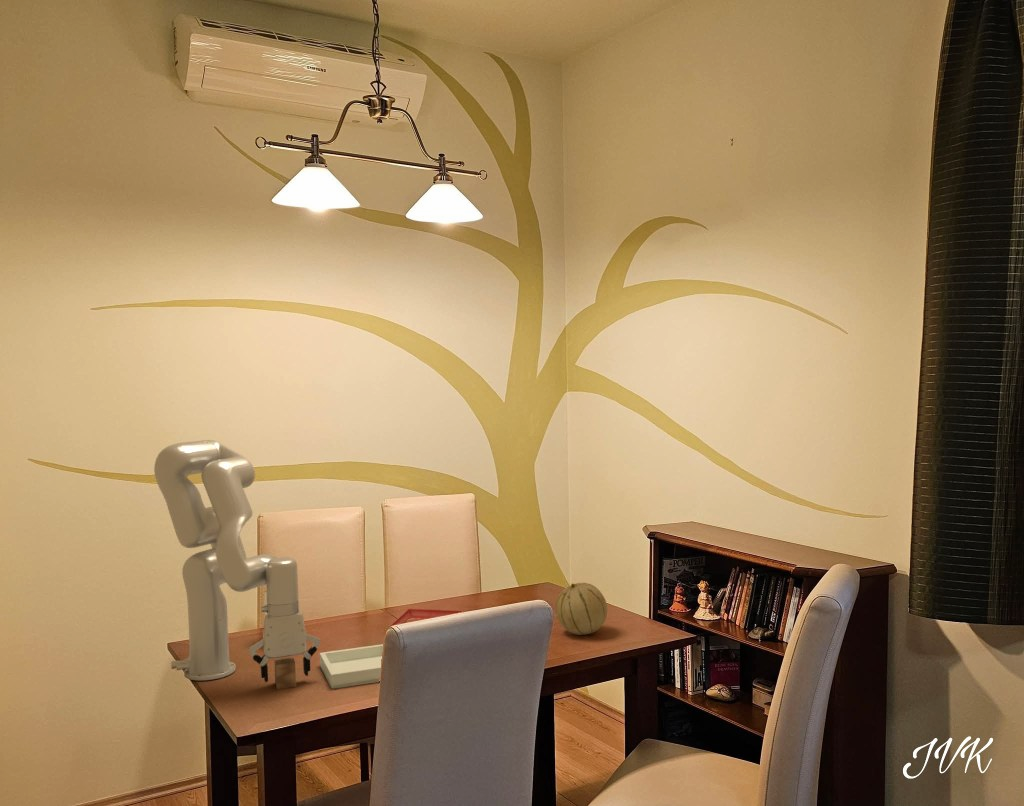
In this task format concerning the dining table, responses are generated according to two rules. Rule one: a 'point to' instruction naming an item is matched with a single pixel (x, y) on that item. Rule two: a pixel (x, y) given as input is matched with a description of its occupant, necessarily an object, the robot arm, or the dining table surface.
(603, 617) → the cantaloupe
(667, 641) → the dining table surface
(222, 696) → the dining table surface
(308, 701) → the dining table surface
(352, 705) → the dining table surface
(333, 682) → the tray
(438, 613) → the plant saucer
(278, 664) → the block
